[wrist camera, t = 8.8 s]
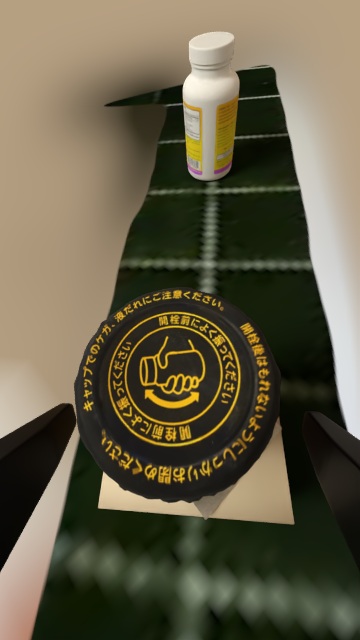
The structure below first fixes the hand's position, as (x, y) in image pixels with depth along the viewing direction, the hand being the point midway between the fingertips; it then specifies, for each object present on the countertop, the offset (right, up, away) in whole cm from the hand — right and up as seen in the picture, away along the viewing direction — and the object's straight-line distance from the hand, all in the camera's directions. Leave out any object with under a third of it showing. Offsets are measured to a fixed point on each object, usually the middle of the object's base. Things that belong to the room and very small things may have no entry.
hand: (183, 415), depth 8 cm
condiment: (+1, -3, +7) cm, 8 cm away
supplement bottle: (+4, +27, +26) cm, 38 cm away
